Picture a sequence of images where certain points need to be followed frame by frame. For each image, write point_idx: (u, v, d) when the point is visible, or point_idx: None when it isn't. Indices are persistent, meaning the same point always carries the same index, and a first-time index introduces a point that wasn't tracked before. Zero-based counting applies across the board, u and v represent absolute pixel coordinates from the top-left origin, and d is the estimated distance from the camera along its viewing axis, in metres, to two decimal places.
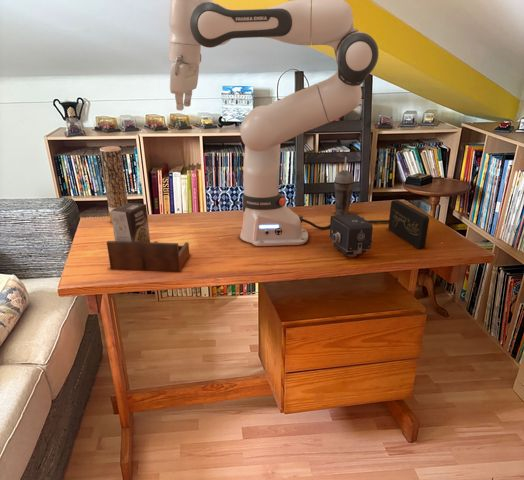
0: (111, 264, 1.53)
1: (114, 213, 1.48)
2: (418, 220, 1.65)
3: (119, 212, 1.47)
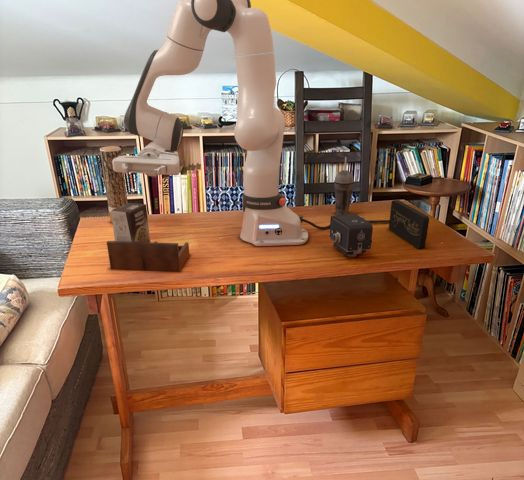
0: (111, 264, 1.53)
1: (114, 213, 1.48)
2: (418, 220, 1.65)
3: (119, 212, 1.47)
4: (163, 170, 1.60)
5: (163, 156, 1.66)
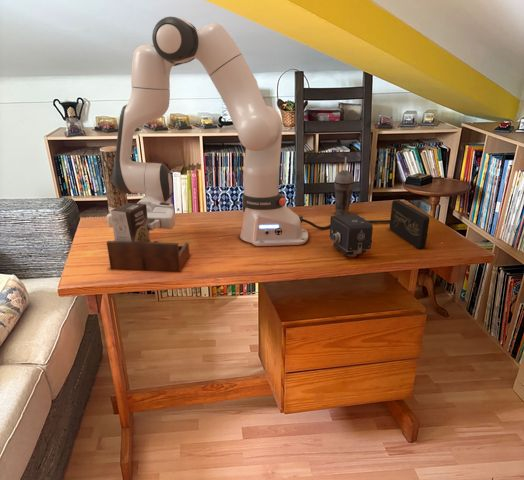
0: (111, 264, 1.53)
1: (114, 213, 1.48)
2: (419, 220, 1.65)
3: (119, 212, 1.47)
4: (157, 224, 1.58)
5: (158, 209, 1.63)
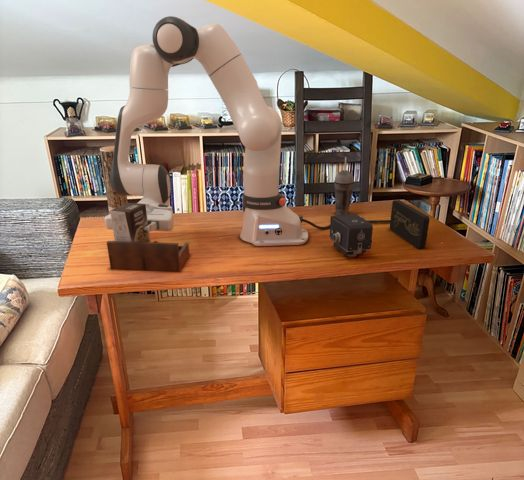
0: (111, 264, 1.53)
1: (113, 213, 1.48)
2: (419, 220, 1.65)
3: (118, 212, 1.47)
4: (153, 227, 1.56)
5: (156, 211, 1.62)
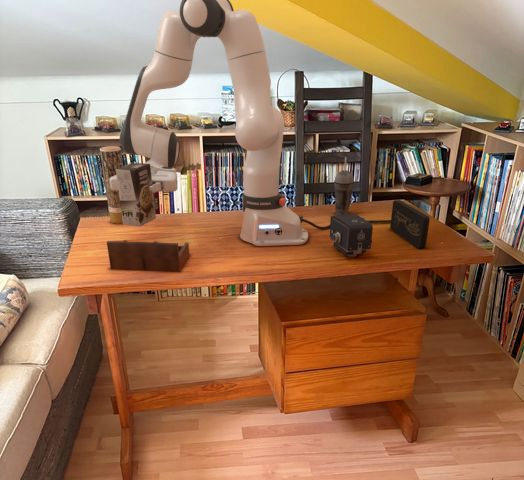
0: (111, 264, 1.53)
1: (119, 171, 1.50)
2: (419, 220, 1.65)
3: (123, 170, 1.50)
4: (158, 187, 1.58)
5: (160, 173, 1.64)
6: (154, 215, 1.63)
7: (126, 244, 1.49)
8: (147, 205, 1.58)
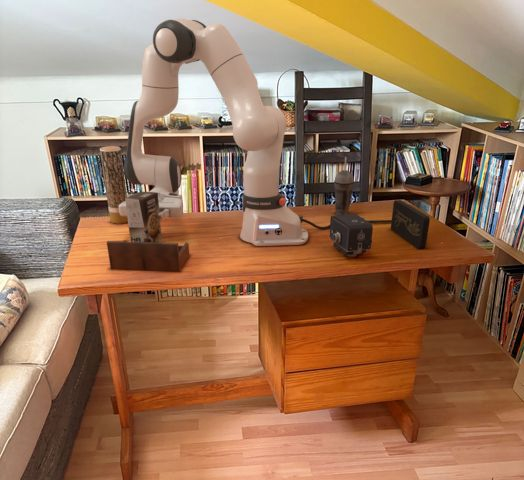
0: (111, 264, 1.53)
1: (128, 200, 1.59)
2: (419, 220, 1.65)
3: (133, 199, 1.58)
4: (166, 213, 1.67)
5: (167, 199, 1.73)
6: (161, 240, 1.71)
7: (126, 244, 1.49)
8: (154, 232, 1.66)
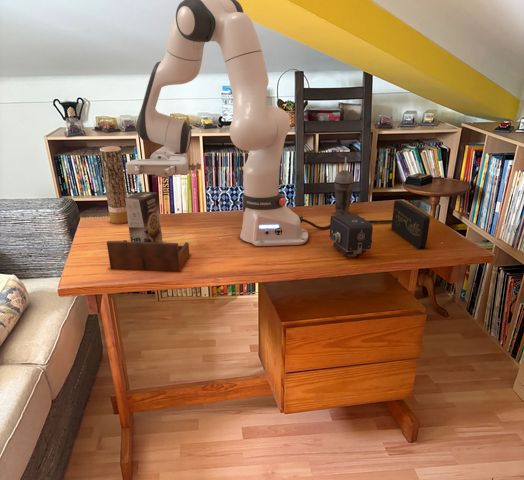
0: (111, 264, 1.53)
1: (128, 200, 1.59)
2: (419, 220, 1.64)
3: (133, 199, 1.58)
4: (172, 170, 1.71)
5: (173, 158, 1.77)
6: (161, 240, 1.71)
7: (126, 244, 1.49)
8: (154, 232, 1.66)
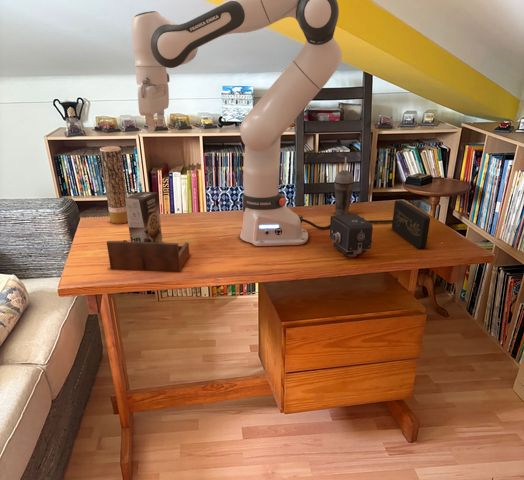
0: (111, 264, 1.53)
1: (128, 200, 1.59)
2: (419, 220, 1.64)
3: (133, 199, 1.58)
4: None
5: (164, 88, 1.62)
6: (161, 240, 1.71)
7: (126, 244, 1.49)
8: (154, 232, 1.66)
